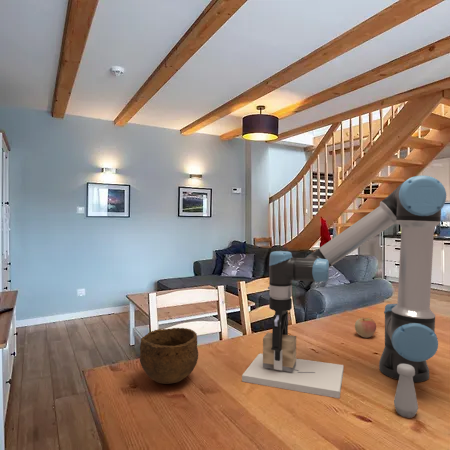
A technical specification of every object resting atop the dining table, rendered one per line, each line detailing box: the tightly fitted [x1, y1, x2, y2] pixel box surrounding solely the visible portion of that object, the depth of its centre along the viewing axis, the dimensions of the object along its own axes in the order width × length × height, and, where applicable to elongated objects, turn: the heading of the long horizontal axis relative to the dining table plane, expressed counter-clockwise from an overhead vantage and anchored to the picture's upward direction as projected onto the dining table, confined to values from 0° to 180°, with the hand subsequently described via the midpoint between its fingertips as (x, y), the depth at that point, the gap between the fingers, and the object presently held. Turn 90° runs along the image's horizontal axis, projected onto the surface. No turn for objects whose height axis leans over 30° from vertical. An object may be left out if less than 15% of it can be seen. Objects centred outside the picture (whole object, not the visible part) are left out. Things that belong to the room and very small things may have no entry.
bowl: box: [139, 327, 199, 385], centre depth 114 cm, size 19×19×15 cm
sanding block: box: [262, 332, 297, 372], centre depth 118 cm, size 10×6×10 cm, turn 68°
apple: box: [354, 317, 377, 339], centre depth 156 cm, size 9×9×8 cm
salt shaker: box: [393, 364, 419, 419], centre depth 94 cm, size 6×6×13 cm
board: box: [241, 353, 345, 399], centre depth 117 cm, size 30×20×2 cm, turn 68°
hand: (280, 365), depth 118 cm, fingers closed on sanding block, 6 cm apart
